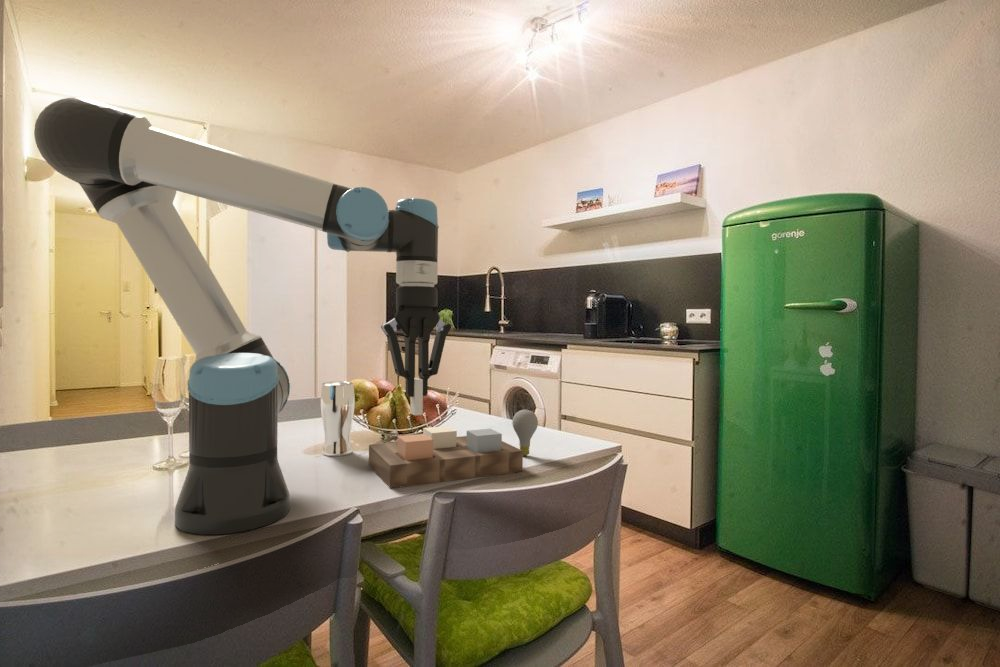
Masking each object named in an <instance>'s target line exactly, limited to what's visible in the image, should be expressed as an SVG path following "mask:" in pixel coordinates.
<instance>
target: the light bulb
mask: <svg viewBox="0 0 1000 667" xmlns="http://www.w3.org/2000/svg"><path fill="white" fill-rule="evenodd" d="M538 422H539V420H538V416H537V415H536V413H535V412H533V411H532V410H529V409H521V410H519V411H517V412H515V413H514V416H512V422H511V423H512V424H511V425H512V427H513V430H514V432H515V434H516V436H517V438H518V439H519V440H518V441H519V449H520V450H522V451H523V457H526V456H528V455H529V454H530V446H531V439H532V437H533V435H534V434H535V432H536V431H537V428H538V424H539V423H538Z"/></svg>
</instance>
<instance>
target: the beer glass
mask: <svg viewBox="0 0 1000 667" xmlns="http://www.w3.org/2000/svg"><path fill="white" fill-rule="evenodd" d="M354 384H355V383H354V382H352V381H327V382H322V383H321V391H320V392H321V393H320V411H321V412H320V414H321V420H322V427H323V432H324V442H323V447H322V448H323V449H322V455H323V456H328V457H341V456H342V457H343V456H347V455H350V454H352V452H353V447H352V441H351V431H352V424H353V419H354V413H355V400H356V399H355V386H354Z"/></svg>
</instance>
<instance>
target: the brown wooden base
mask: <svg viewBox="0 0 1000 667" xmlns="http://www.w3.org/2000/svg"><path fill="white" fill-rule="evenodd" d="M466 440H467V435H463V436H457V444H456V447H448V448H438V449H433V458H425V459H415V460H406V461H404V460H402V459H401V458H400V457H399V456H398V455H397V442H396V441H395V442H386V443H377V444H376V443H375V444H368V466H369V468H371V469H372V470H373V471H374V473H375V474H376V475H377V476H378V477H379V478H380V479H381V480H382V481H383V482H384V483H386V484H387V485H388V486H389V487H390V488H389V487H388V486H387V485H386V484H385V485H386V486H387V487H388V488H389V489H392V488H391V487H397V488H401V487H400V486H405V487H411V485H413V486H420V485H427V484H436V483H444V482H448V481H449V482H450V481H451V482H452V481H458V480H465V479H474V478H481V477H489V476H496V475H505V474H511V473H512V474H513V473H521V472H523V467H524V466H523V462H524V461H523V459H524V456H523V451H522V450H520V448H517V447H516V446H513V445H511V444H510V443H507V442H505V441H503V440H502V449H501V450H499V451H490V452H481V453H475V452H473V451H472V450H470V449H468V448H466Z"/></svg>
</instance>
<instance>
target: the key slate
mask: <svg viewBox="0 0 1000 667" xmlns="http://www.w3.org/2000/svg"><path fill="white" fill-rule="evenodd" d="M466 436H467V440H466V448H468V449H470V450H472V451H473V452H475V453H481V452H490V451H499V450H501V449H502V441H503V438H502V436H503V434H502V433H501V432H498V431H496V430H494V429H492V428H484V429H483V428H482V429H472V430H471V429H470V430H466Z"/></svg>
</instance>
